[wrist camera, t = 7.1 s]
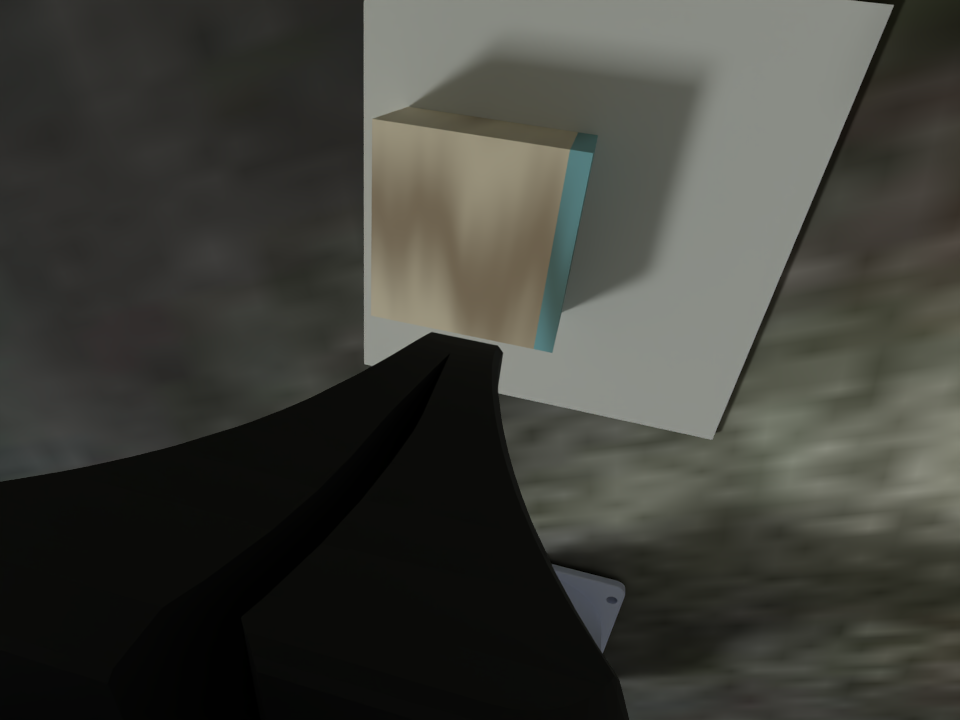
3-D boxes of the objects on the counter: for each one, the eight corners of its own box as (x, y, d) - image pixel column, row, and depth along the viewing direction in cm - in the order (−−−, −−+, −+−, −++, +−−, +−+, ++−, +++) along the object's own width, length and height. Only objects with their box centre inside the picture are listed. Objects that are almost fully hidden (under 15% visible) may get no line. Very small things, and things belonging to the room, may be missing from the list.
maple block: (552, 352, 17) (370, 315, 18) (561, 312, 20) (401, 281, 21) (593, 153, 14) (372, 118, 15) (598, 135, 17) (408, 106, 18)
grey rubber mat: (711, 434, 21) (712, 439, 21) (367, 360, 23) (364, 363, 23) (888, 5, 14) (893, 5, 14) (367, -53, 16) (363, -55, 16)
